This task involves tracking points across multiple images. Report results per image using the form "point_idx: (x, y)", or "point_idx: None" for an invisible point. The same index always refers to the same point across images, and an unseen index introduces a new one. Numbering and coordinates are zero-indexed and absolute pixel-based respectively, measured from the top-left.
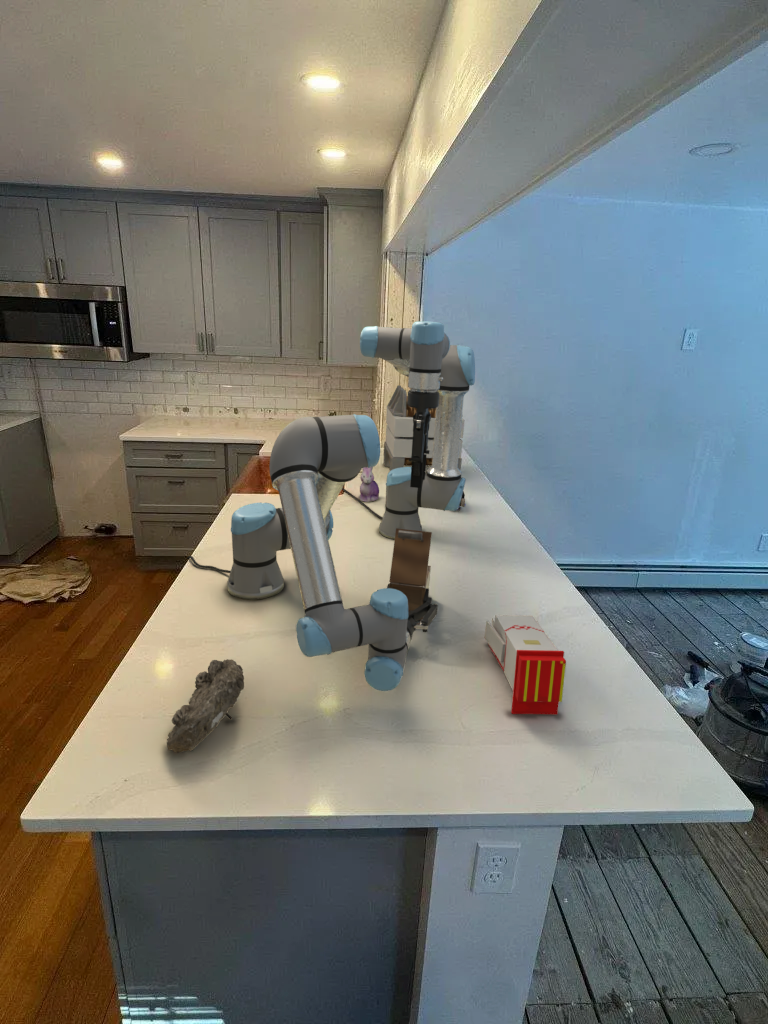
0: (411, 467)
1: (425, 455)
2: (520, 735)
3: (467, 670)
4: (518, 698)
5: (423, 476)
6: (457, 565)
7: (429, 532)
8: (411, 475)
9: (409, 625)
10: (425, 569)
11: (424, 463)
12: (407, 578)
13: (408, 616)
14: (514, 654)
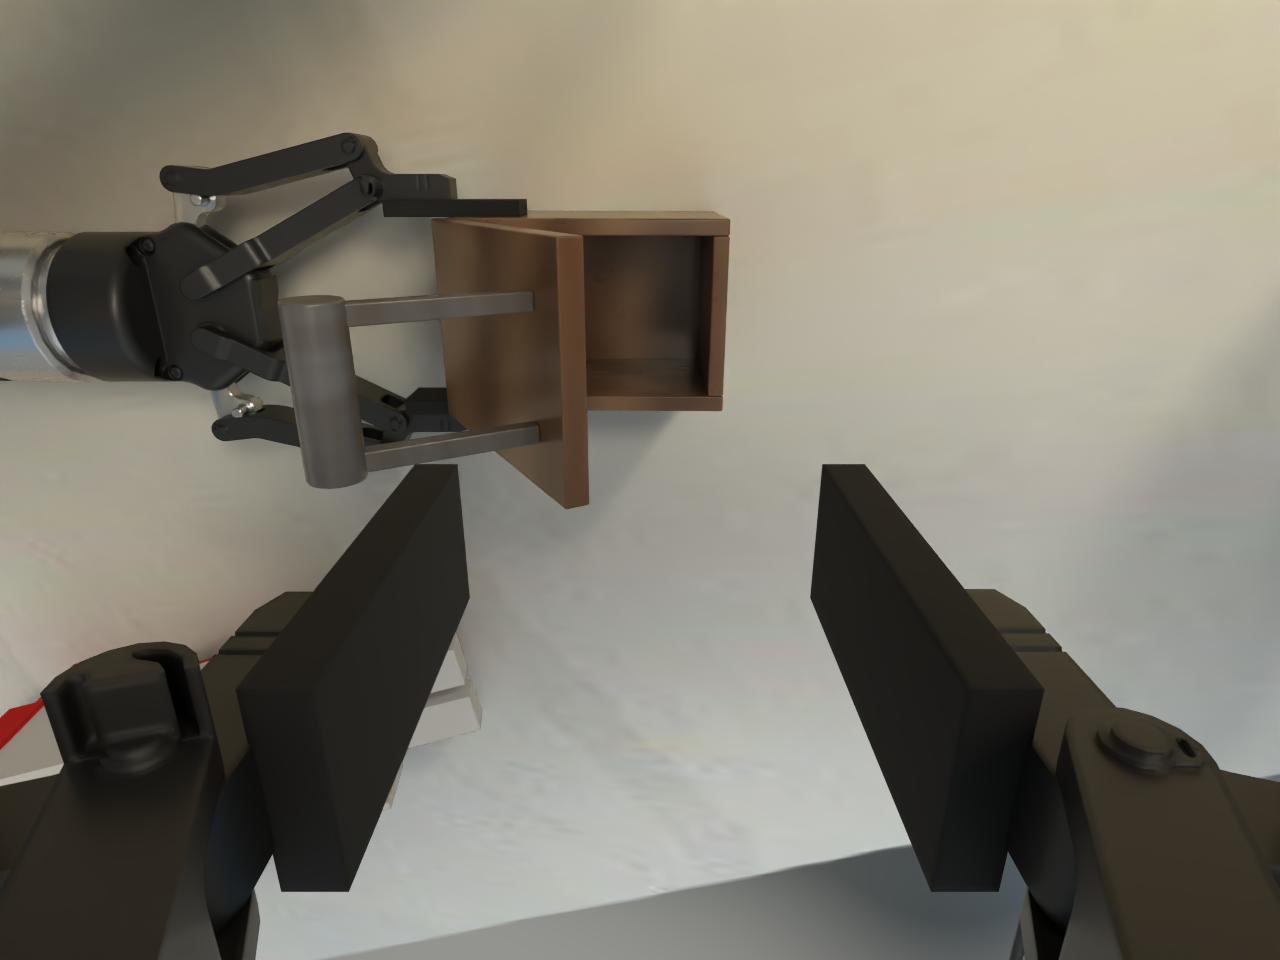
0: (302, 609)
1: (931, 873)
2: (6, 678)
3: (232, 544)
4: (4, 715)
5: (822, 607)
6: (1060, 469)
7: (563, 494)
8: (356, 544)
9: (118, 375)
10: (475, 426)
11: (875, 739)
12: (448, 322)
13: (214, 356)
14: (15, 764)
